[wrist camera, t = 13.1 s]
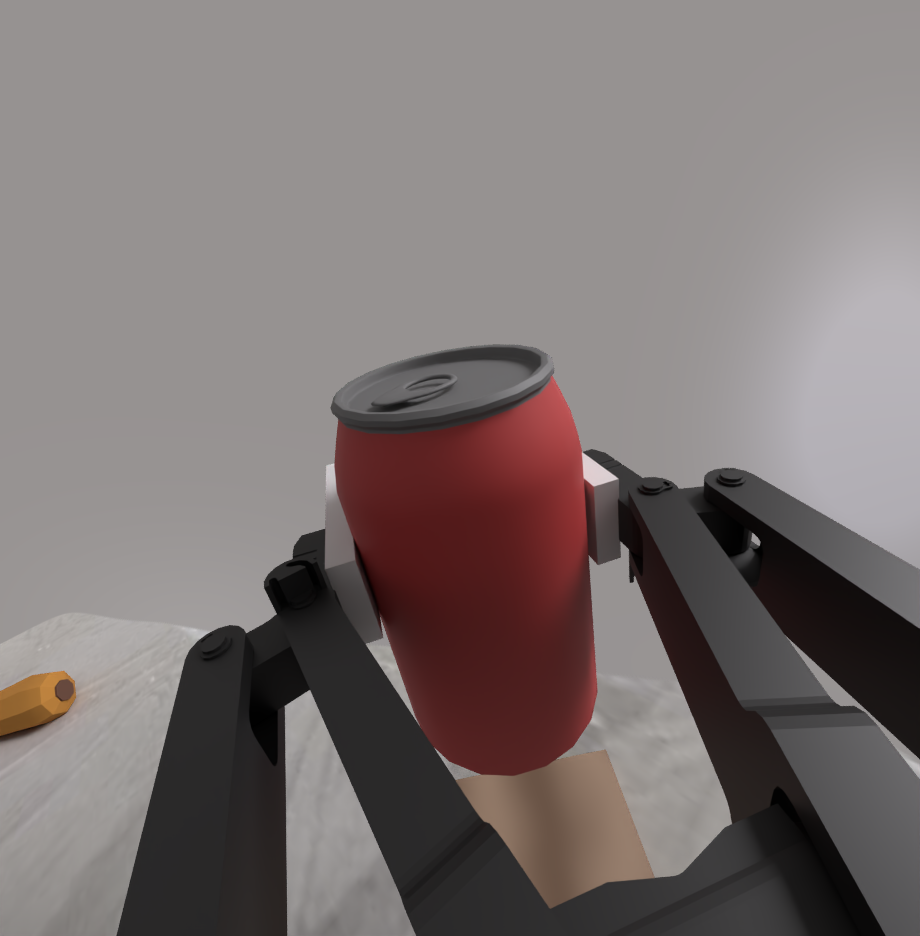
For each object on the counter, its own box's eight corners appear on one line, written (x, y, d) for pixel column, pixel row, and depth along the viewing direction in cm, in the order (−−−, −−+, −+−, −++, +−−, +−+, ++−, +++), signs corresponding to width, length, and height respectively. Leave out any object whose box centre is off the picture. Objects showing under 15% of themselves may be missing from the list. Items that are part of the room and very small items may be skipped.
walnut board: (448, 1082, 19) (443, 1074, 18) (437, 795, 29) (433, 784, 28) (707, 1030, 19) (709, 1020, 18) (606, 760, 29) (605, 749, 28)
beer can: (385, 689, 17) (273, 397, 12) (509, 598, 21) (463, 334, 15) (496, 842, 12) (388, 456, 7) (638, 691, 16) (636, 345, 10)
